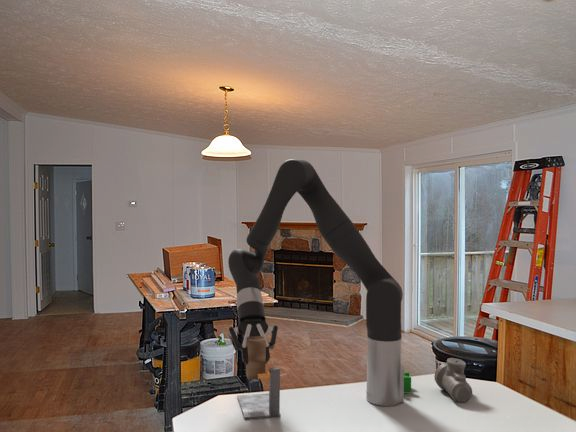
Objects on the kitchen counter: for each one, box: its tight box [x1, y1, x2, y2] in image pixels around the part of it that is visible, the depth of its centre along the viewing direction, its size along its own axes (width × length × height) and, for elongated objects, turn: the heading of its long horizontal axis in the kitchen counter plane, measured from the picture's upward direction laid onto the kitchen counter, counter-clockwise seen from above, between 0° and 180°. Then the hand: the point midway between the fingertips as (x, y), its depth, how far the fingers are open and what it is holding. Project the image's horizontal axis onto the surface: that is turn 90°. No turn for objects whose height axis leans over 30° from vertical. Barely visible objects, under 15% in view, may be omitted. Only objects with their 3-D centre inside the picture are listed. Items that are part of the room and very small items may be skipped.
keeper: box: [236, 366, 281, 421], centre depth 131 cm, size 9×15×12 cm, turn 13°
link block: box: [245, 336, 266, 380], centre depth 132 cm, size 4×4×10 cm
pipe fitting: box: [433, 357, 473, 403], centre depth 140 cm, size 12×8×10 cm
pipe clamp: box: [404, 371, 412, 393], centre depth 146 cm, size 11×4×5 cm, turn 174°
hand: (256, 362), depth 130 cm, fingers closed on link block, 4 cm apart
